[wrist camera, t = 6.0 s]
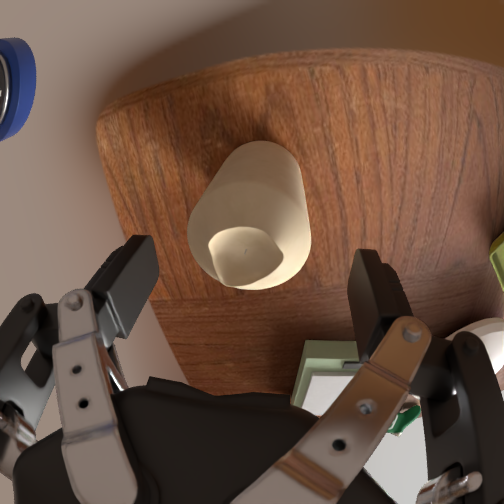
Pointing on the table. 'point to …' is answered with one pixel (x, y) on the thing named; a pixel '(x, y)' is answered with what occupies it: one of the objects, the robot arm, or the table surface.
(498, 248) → the green square dish
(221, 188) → the candle
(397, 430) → the gaming controller
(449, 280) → the table surface
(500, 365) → the vase
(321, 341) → the scale
